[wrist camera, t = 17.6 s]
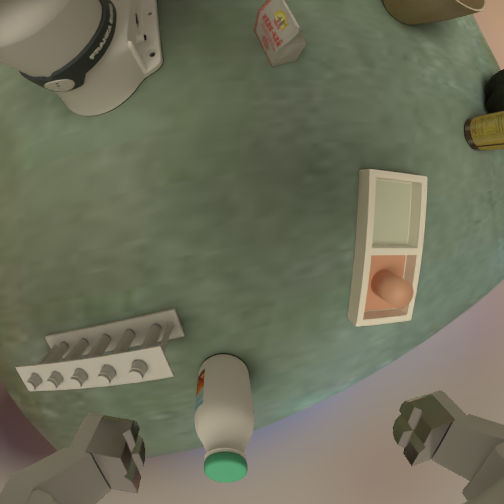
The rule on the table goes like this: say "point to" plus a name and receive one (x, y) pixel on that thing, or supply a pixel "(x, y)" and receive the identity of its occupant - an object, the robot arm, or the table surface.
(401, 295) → the brown egg
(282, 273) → the table surface
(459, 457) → the robot arm
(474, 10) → the plant pot
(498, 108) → the squash
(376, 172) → the sorting tray
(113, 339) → the test tube rack
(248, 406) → the milk bottle
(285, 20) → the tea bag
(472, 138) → the sauce bottle
